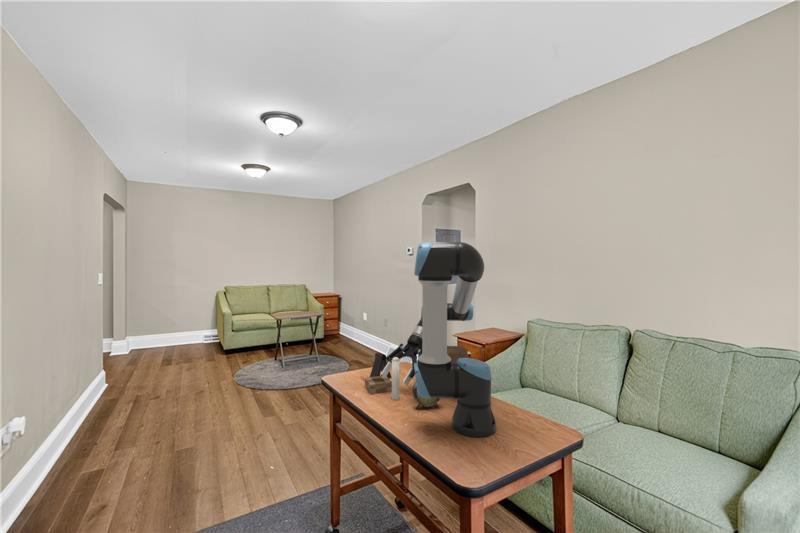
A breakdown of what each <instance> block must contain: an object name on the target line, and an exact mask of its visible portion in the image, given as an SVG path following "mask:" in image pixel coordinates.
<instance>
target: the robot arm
mask: <svg viewBox="0 0 800 533" xmlns="http://www.w3.org/2000/svg"><path fill="white" fill-rule="evenodd" d="M413 272H414V273H413V274H414V276H417V277H418V278H417V279H418V282H419V283H420V284H421V286H422V307H421V315H420V316H421V317H420V319H419V321H418V323H417V324H416V325H415V327H414V329H413V331H412V332H411V334H410V336H409V337H408V338H407V341H406V342H407V344H403V343H400V344H399V345H398V347H396V349H394V350H393V351H392V352H390V353H389V354H388V355H386V362H387V364H386V365H385V367H384V370H383V371H382V372H381V373H380V375H382V376H383V377H386V376H387V374H388V373H389V371H390V372H391V370H392V359H393V358H394V357H397V358H399V360H401V359H402V358H411V368H410V369H409V370H408V372H407V374H406V376H405V377H404V379H403V381H402V383H403V384H404V385H405V386H406V387H407V386H409V384H410V382H411V380H412V379H415V382H416V387H417V393H418V395H419V396H420V397H424V398H440V399H456V405H455V409H454V412H453V414H452V418H451V427H452V429H453V430H454V431H455V432H457V433H459V434H461V435H463V436H466V437H471V438H485V437H489V436H492V435H493V434H494V433H495V432H496V430H497V423H496V419H495V416H494V412H493V410H492V409H493V408H492V379H493V378H492V369H491V367H490V365H489V364H488V363H486V362H484V361H482V360H479V359H477V358H473V357H472V358H470V357H468V358H459V359H458V360H457V363H451V358H450V357H449V356H448V355H447V346H448V321H453V322H455V321H457V322H459V321H460V322H461V321H462V322H466V321H471V320H473V317H474V306H473V305H472V301H473V298H474V294H475V291H476V288H477V284H478V283H479V282H478V281H480V280H481V279H482V277H483V275H484V272H485V261H484V259H483V257H482V255H481V253H480V252H479V250H477V249H476V248H475V247H474V246H473V245H471V244H469V243H467V242H462V241H457V242H455V241H454V242H453V241H451V242H450V241H449V242H448V241H446V242H445V241H427V242H420V243H419V244H418V246H417V250H416V257H415V263H414V271H413ZM453 276H455V277H456V276H457V279H456V284H455V288H454V293H453V299H452V301H451V302H452V303H449V302H448V286H449V285H450V283H452V282H453V281H452V280H453ZM414 377H415V378H414Z"/></svg>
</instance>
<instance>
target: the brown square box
mask: <svg viewBox="0 0 800 533" xmlns="http://www.w3.org/2000/svg"><path fill="white" fill-rule="evenodd" d="M364 387H365V389H366V390H367V392H368V393H369V395H374V394H383V393H389V392H390V393H392V380H391V379H390V378H388V377H387V376H386V377H383V376H376V377H370V376H368V377H365V381H364Z"/></svg>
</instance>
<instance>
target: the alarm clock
mask: <svg viewBox="0 0 800 533" xmlns="http://www.w3.org/2000/svg"><path fill="white" fill-rule="evenodd" d="M412 396H413V398H414V400H415V401H416V403H418V404H417V406H416V407H415V408H416V410H417V409H419V407H420V406H421V407H425V408H426V407H427V408H428V407H432V406H434V405H436V407H439V404H438V402H439V401H440V399H441V398H424V397H420V396H419V395H418V393H417V387H416V381H415V382H414V384H413V386H412Z"/></svg>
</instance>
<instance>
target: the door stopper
mask: <svg viewBox="0 0 800 533" xmlns="http://www.w3.org/2000/svg"><path fill="white" fill-rule="evenodd" d="M386 357H387V355H386V354H383V353H381V352H376V353H375V354H374V361H373V365H372V368H371V372H370V375H369V377H376V376H380V375H381V373H382V371H383V370H384V367H385V365H386V364H387V362H388V361H387V359H386ZM381 376H382V375H381ZM387 377H388V378H389V379H392V373H391V370H390V371H389V373H388V374H387Z"/></svg>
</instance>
